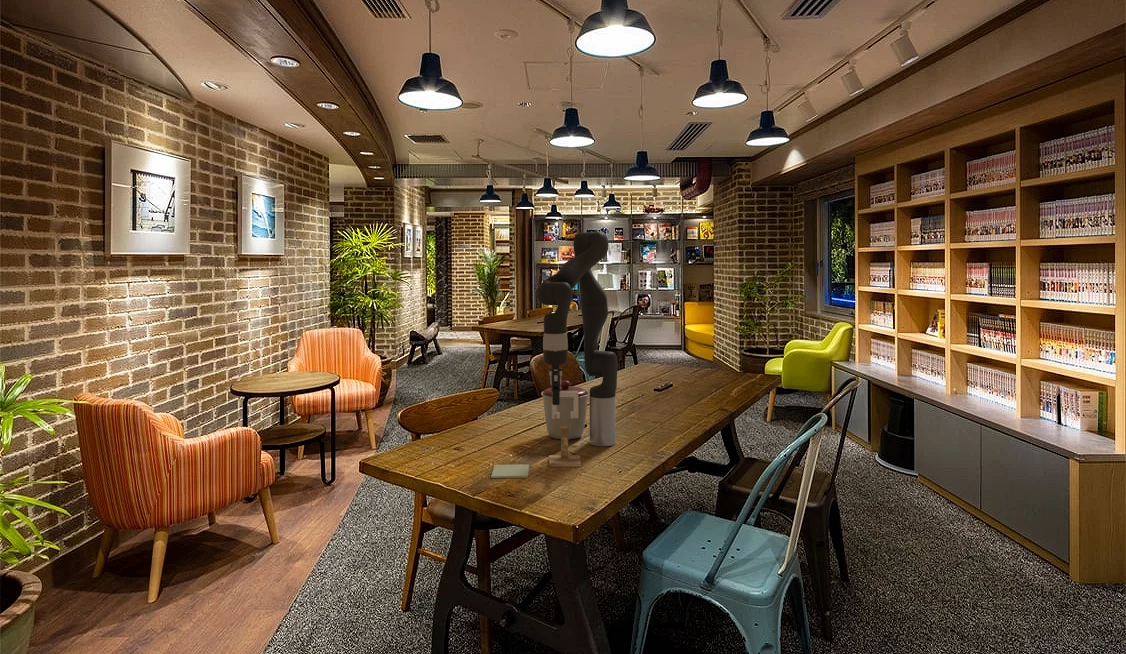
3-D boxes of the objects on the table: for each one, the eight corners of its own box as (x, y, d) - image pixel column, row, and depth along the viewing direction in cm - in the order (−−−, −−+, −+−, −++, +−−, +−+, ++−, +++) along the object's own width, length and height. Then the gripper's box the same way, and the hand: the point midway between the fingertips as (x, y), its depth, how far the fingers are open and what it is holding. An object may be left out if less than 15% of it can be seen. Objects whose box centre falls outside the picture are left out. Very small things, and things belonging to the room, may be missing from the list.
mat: (494, 466, 203) (494, 464, 203) (529, 466, 203) (529, 464, 203) (491, 478, 192) (491, 476, 192) (527, 477, 192) (527, 475, 192)
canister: (590, 443, 229) (590, 385, 227) (540, 443, 230) (539, 385, 228) (589, 430, 247) (589, 376, 245) (542, 430, 248) (542, 376, 246)
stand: (549, 458, 212) (549, 425, 210) (579, 457, 212) (579, 425, 211) (549, 477, 193) (549, 441, 192) (582, 476, 193) (582, 441, 192)
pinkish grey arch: (552, 416, 198) (551, 390, 197) (577, 415, 198) (577, 390, 197) (552, 418, 195) (551, 392, 194) (578, 418, 195) (578, 392, 194)
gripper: (543, 344, 201) (543, 398, 203) (542, 351, 187) (543, 408, 189) (567, 344, 201) (567, 398, 203) (568, 350, 187) (568, 408, 189)
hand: (555, 403), depth 196 cm, fingers closed on pinkish grey arch, 3 cm apart
